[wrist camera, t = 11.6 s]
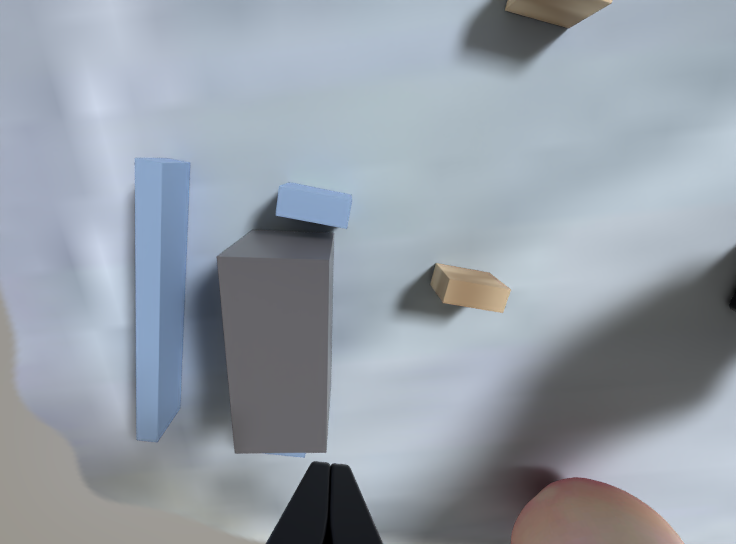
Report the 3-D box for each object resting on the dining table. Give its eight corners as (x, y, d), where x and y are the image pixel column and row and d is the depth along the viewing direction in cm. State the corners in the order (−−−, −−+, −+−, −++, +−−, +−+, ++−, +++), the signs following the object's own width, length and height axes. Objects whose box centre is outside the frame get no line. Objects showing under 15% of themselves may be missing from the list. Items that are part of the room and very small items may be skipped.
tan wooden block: (579, -5, 14) (625, -37, 12) (482, 293, 18) (502, 312, 16) (514, -24, 14) (547, -61, 12) (430, 284, 18) (442, 302, 16)
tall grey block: (334, 232, 17) (329, 259, 12) (331, 382, 20) (326, 452, 15) (253, 229, 17) (216, 256, 12) (261, 382, 20) (234, 453, 15)
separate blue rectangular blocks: (351, 194, 16) (352, 200, 14) (309, 423, 20) (304, 457, 18) (167, 158, 15) (134, 157, 13) (162, 406, 19) (136, 440, 17)
